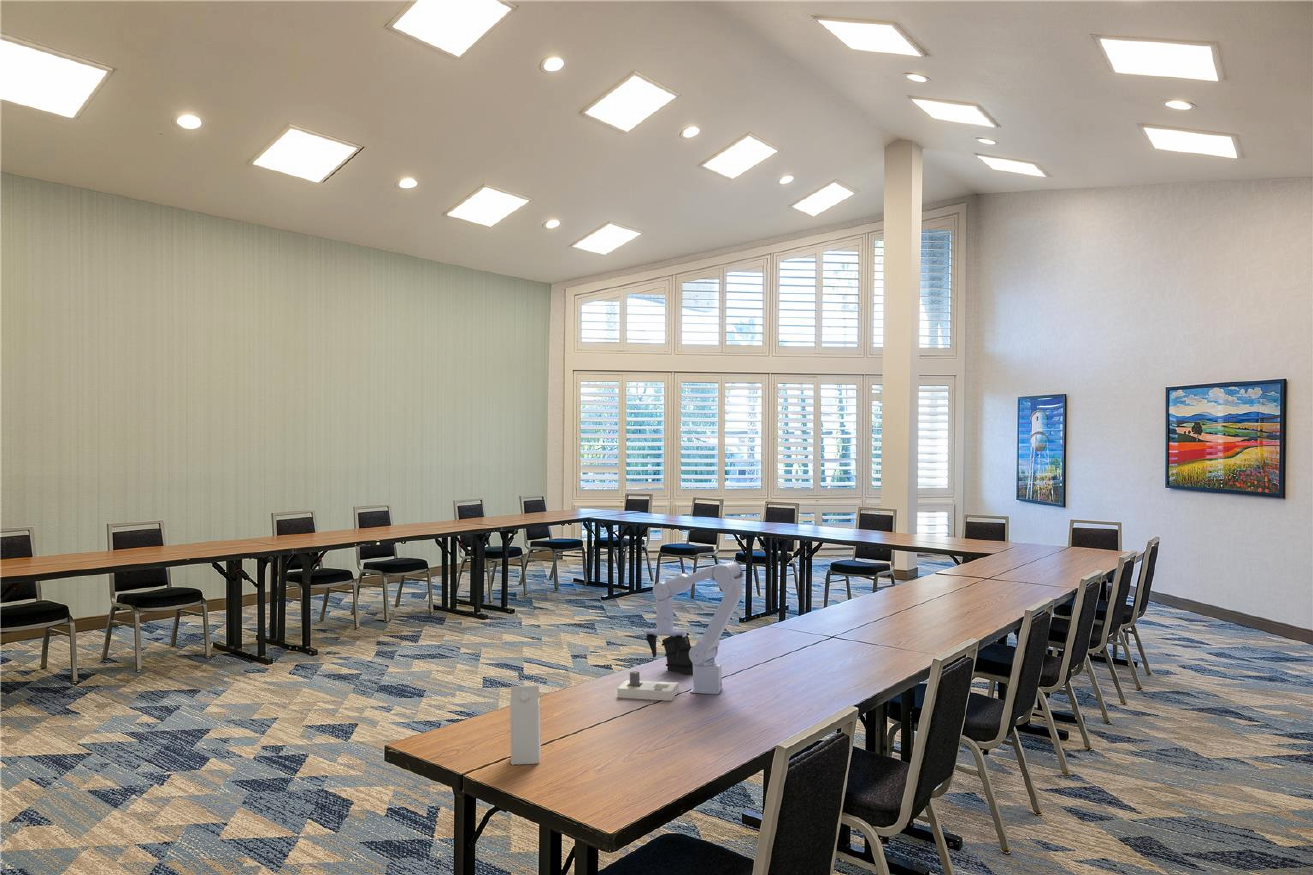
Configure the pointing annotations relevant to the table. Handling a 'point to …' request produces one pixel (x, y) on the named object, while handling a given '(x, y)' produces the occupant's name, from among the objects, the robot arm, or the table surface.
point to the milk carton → (525, 725)
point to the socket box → (648, 690)
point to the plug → (634, 679)
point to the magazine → (683, 660)
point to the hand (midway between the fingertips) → (665, 657)
